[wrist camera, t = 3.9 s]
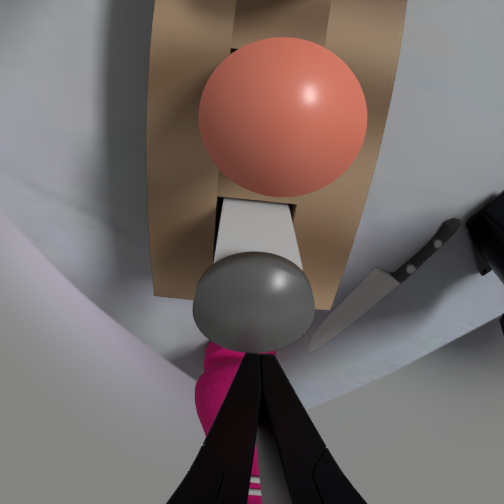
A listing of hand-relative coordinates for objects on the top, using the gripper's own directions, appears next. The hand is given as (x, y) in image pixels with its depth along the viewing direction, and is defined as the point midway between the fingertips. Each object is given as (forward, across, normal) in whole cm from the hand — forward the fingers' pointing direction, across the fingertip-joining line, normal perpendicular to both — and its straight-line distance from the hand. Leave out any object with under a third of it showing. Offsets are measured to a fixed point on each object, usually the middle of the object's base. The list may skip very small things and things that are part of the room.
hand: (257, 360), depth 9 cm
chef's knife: (+13, -10, +8) cm, 18 cm away
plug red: (+9, 0, -6) cm, 11 cm away
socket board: (+12, 0, -6) cm, 14 cm away
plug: (+9, 0, 0) cm, 9 cm away
